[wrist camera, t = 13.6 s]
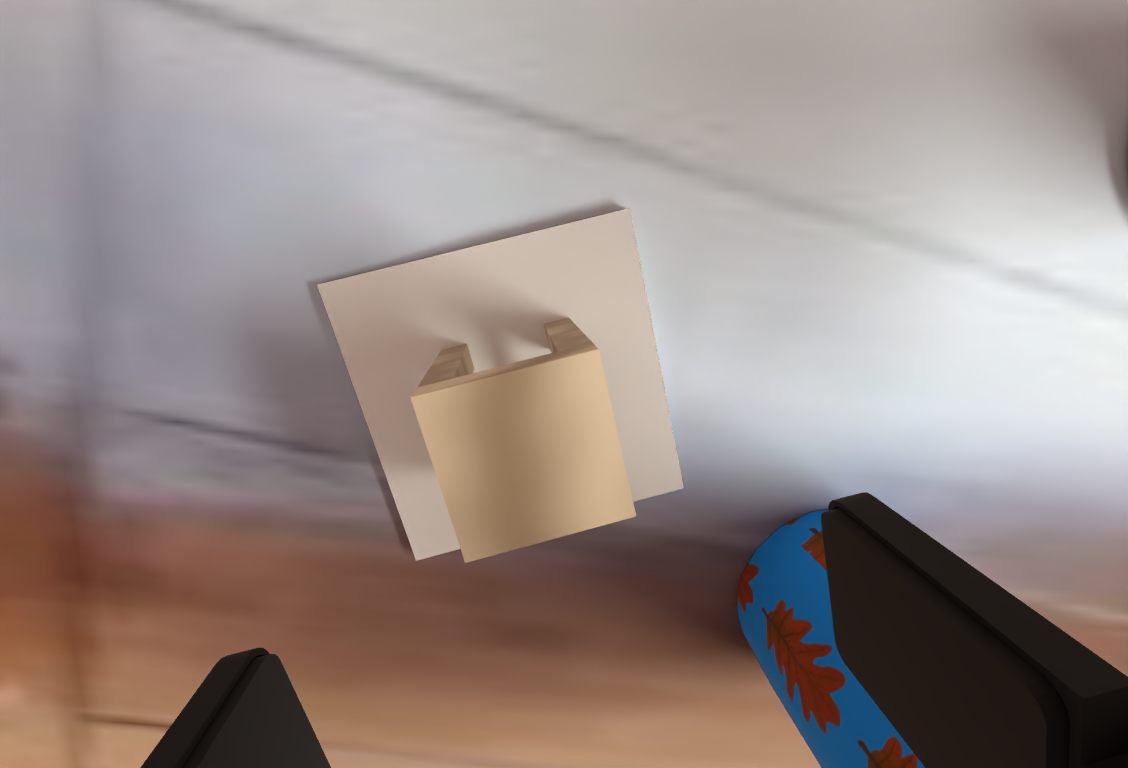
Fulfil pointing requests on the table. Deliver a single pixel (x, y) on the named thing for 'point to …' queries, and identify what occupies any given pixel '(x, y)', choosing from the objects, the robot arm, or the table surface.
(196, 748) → the robot arm
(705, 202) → the table surface
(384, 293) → the mat
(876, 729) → the thermos
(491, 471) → the stool
